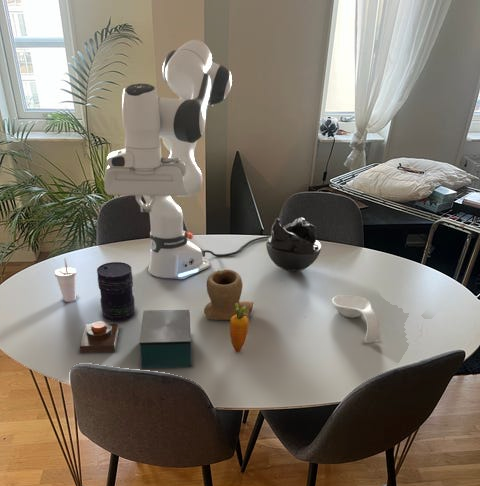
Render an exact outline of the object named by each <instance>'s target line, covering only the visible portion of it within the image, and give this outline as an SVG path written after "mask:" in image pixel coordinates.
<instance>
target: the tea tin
mask: <svg viewBox="0 0 480 486" xmlns="http://www.w3.org/2000/svg"><path fill="white" fill-rule="evenodd" d="M139 346H140V360H141V369H160V368H164V369H165V368H191V367H192V343H191V344H164V345H140V344H139Z"/></svg>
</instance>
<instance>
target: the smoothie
mask: <svg viewBox="0 0 480 486" xmlns="http://www.w3.org/2000/svg"><path fill="white" fill-rule="evenodd" d="M63 260H64V261H63V262H64V267H59V268H58V269H55V271H54V277H55V278H56V279H57V283H58V286H59V290H60V292H61V295H62V299H63V301H64V302H66V303H70V302H71V303H72V302H74V301H76V300H77V274H78V273H77V269H76V268H74V267H70V266H68V263H67V258H63Z"/></svg>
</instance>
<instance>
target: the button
mask: <svg viewBox="0 0 480 486" xmlns="http://www.w3.org/2000/svg"><path fill="white" fill-rule="evenodd" d="M105 323H106V322H105V321H101V320H97V321H94V322H92V323H91V324H92V331H93V332H94V333H102V332H104V331H106V326H105Z"/></svg>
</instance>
